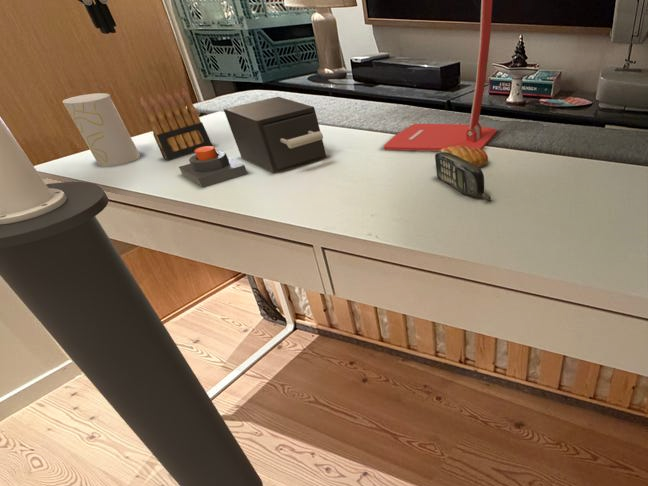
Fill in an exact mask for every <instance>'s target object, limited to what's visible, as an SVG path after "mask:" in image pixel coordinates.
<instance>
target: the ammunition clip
mask: <svg viewBox="0 0 648 486" xmlns="http://www.w3.org/2000/svg"><path fill="white" fill-rule="evenodd" d="M181 92H182V97H183V98H182V97H181V94H180V93H179V92H178V90H176V89H175V88H174V89H173V94H174V98H175V100H174V98H173V96H172V95H171V93H170V92H169V91H168V90H165V95H166V100H167V102H166V100H165V98H164V97H163V95H162V94H161V93H160V92H157V99H158V102H159V105H160V107H159V105H158V103H157V101H156V99H155V98H154V97H153V96H152V95H151V94H149V95H148V99H149V102H150V106H151V108H152V109H151V108H150V106H149V104H148V102H147V101H146V100H145V99H144V97H142V96H140V103H141V108H142V109H143V112H144V114H145V116H146V120H147V122H148V125H149V126H150V129H151V131H152V136H153V137H154V139H155V142H156V144H157V147H158V150H159V151H160V154H161V155H162V158H163V160H167V161H171V160H174V159H177V158H180V157H183V156H186V155H187V156H188V155H190V154H192V153H195V151H194V150H195V149H197V148H200V147H204V146H213V143H212V141H211V138H210V137H209V134H208V132H207V130H206V128H205V126H204V124H203V122H202V121H201V118H200V116H199V114H198V111H197V109H196V107H195V106H194V104H193V102H192V99H191V97H190V96H189V93H188V92H187V90H186V89H185V88H184V87H181ZM175 101H176V102H175ZM184 102H185V103H184ZM167 103H168V104H167ZM176 103H177V104H176ZM168 105H169V106H168ZM160 108H161V109H160ZM152 111H153V112H152ZM162 112H163V113H162Z"/></svg>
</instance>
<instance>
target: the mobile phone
mask: <svg viewBox="0 0 648 486" xmlns="http://www.w3.org/2000/svg"><path fill="white" fill-rule="evenodd" d="M434 162H435V169H436V170H435V171H436V178H437V179H439V180H441V181H442V182H444V183H446V184H448V185H450V186H451V187H453V188H455V189H456V190H457V191H459V192H460V193H461V194H463V195H466V196H471V197H478V196H479V197H482V198H484V199H486V200H491V199H492V196H491V195H489V194H487V193H486V191H485V175H484V172H483V170H482V169H481V167H479V168H478V167H476V166H475V165H473V164H472V163H470V162H468V161H466V160H464V159H462V158H460V157H458V156H456V155H453V154H451V153H447V152H441V151H440V152H438V153H435V154H434Z"/></svg>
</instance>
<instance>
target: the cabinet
mask: <svg viewBox="0 0 648 486" xmlns="http://www.w3.org/2000/svg"><path fill="white" fill-rule="evenodd" d="M223 113H224V114H225V117H226V120H227V122H228V125H229V128H230V130H231V133H232V136H233V139H234V141H235V144H236V147H237V149H238V152H239V154H240V157H241V159H243V160H245V161H247V162H249V163H251V164H253V165H255V166H257V167H259V168H262V169H263V170H265V171H267V172H270V173H272V174H278V173H280V172H284V171H287V170H290V169H293V168H296V167H299V166H302V165H306V164H310V163H312V162H315V161H318V160H322V159H325V158H327V154H326V155H323V156H320V157H317V158H313V159H310V160H307V161H304V162H301V163H297V164H294V165H291V166H288V167H284V168H281V169H276V168H275V165H274V162H273V159H272V156H271V153H270V150H269V147H268V144H267V141H266V138H265V134H264V131H263V128H262V124H266V123H270V122H274V121H278V120H282V119H286V118H290V117H294V116H298V115H302V114H310V113H315V114H316V115H317V113H316V109H315V107H314V106H312V105H308V104H306V103H301V102H298V101H294V100H291V99H288V98H284V97H281V96H275V97H271V98H266V99H261V100H257V101H253V102H248V103H243V104H239V105H238V104H237V105H235V106H230V107H229V106H228V107H225V108H223Z"/></svg>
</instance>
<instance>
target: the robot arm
mask: <svg viewBox="0 0 648 486" xmlns="http://www.w3.org/2000/svg"><path fill="white" fill-rule="evenodd" d="M77 1H78V2H79V3H81V4H82V5H83V6H84V7H85V8H84V9H86V12H87V14H88V16H89V18H90V20H91V22H92V24H93V26H94V28H95V29H99V31H100V32H101V34H104V35H109V34H117V31H116V28H115V27H117V24H116V21H115V19H114V17H113V15H112V13H111V10H110V8H109V6H108V2H109V0H77ZM46 184H47V183H46V182H45V180H44V178H42V176H41V174H39V172H38V170H37V169H36V167H35V166H34V164H33V163H32V161H31V160H30V159H29V157H28V156H27V154H26V152H25V151H24V150H23V148H22V147H21V145H20V143H19V141H17V139H16V137H15V136H14V134H13V133H12V131H11V130H10V129H9V127H8V126H7V124H6V123H5V122H4V120H3V118H2V117H1V116H0V225H3V224H10V223H16V222H20V221H25V220H28V219H32V218H35V217H38V216H41V215H44V214H46V213H49V212H51V211H53V210H55V209H57V208H59V207H60V206H62V205H63V204H64V203H65V202H66V200H67V197H66V195H65V194H64V192H63V191H61V190H59V189H54V188H48V187H47V185H46Z"/></svg>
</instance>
